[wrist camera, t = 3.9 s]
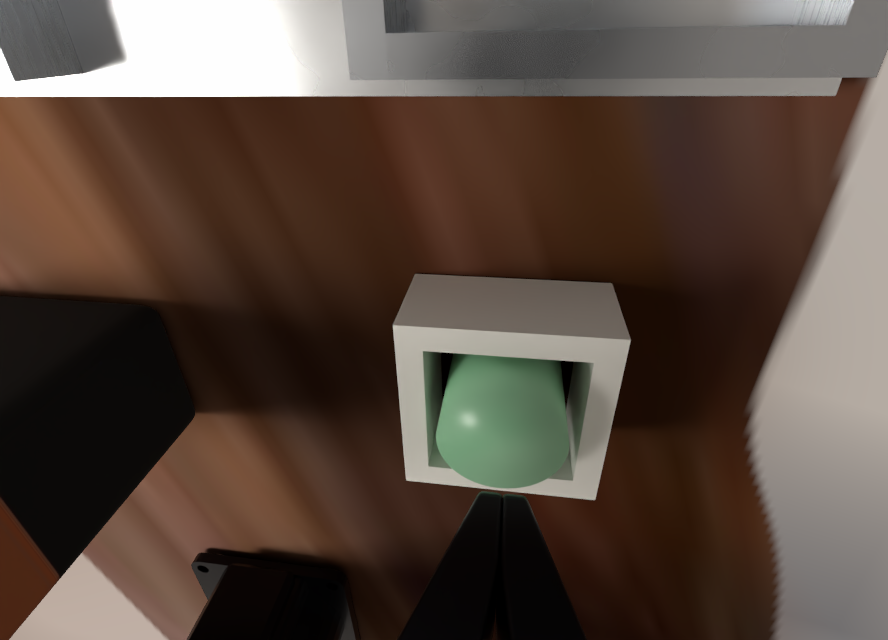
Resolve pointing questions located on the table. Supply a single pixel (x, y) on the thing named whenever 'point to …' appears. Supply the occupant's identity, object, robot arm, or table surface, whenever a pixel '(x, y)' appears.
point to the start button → (503, 420)
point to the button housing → (511, 335)
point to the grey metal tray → (438, 47)
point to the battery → (75, 431)
